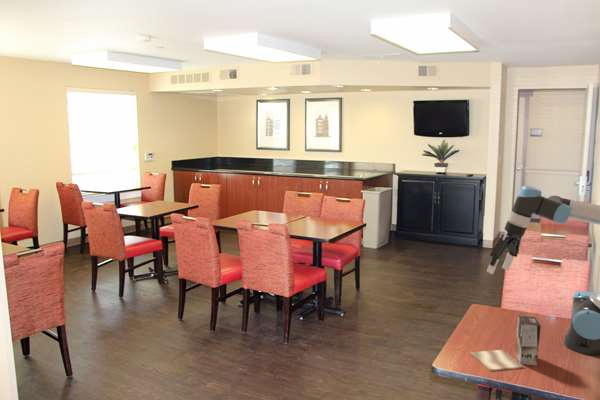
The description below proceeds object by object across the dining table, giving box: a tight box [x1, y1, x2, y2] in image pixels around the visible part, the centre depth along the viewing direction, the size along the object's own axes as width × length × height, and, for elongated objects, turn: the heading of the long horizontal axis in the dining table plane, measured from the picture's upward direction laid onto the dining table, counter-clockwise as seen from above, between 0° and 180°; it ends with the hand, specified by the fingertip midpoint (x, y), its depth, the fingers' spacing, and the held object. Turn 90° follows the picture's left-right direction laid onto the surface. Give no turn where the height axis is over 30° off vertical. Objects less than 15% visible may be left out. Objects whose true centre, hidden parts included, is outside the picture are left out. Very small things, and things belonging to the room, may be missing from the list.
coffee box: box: [514, 315, 542, 366], centre depth 194 cm, size 9×6×16 cm
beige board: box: [470, 349, 525, 372], centre depth 194 cm, size 14×14×1 cm
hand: (497, 270), depth 206 cm, fingers open, 13 cm apart
